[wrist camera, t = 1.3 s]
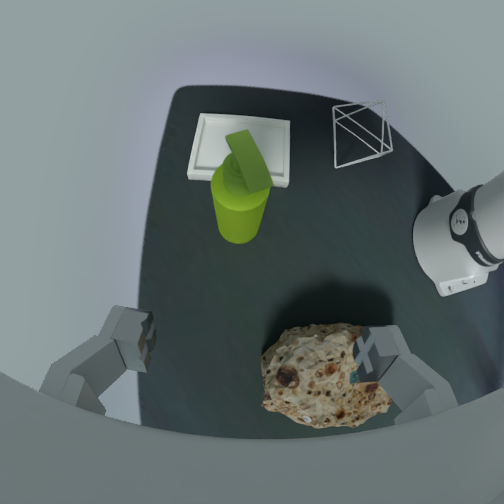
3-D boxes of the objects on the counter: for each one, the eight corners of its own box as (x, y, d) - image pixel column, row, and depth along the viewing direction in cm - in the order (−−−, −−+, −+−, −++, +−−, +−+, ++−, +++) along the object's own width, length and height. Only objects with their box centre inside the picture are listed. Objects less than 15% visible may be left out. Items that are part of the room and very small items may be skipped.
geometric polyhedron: (360, 189, 42) (385, 162, 33) (307, 149, 43) (323, 115, 34) (386, 147, 45) (410, 120, 36) (341, 112, 45) (357, 81, 37)
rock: (386, 315, 39) (427, 331, 29) (367, 394, 39) (399, 423, 29) (259, 312, 36) (278, 338, 26) (249, 404, 36) (261, 446, 26)
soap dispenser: (229, 256, 38) (224, 200, 19) (212, 212, 39) (195, 127, 20) (268, 241, 39) (300, 175, 19) (250, 199, 40) (263, 108, 21)
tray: (288, 127, 43) (289, 120, 42) (286, 187, 41) (288, 182, 39) (201, 119, 43) (200, 113, 41) (188, 179, 40) (187, 173, 38)
